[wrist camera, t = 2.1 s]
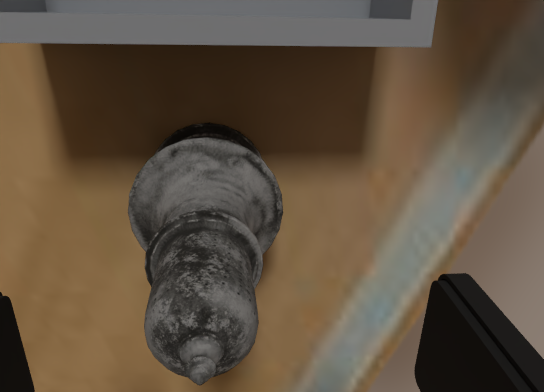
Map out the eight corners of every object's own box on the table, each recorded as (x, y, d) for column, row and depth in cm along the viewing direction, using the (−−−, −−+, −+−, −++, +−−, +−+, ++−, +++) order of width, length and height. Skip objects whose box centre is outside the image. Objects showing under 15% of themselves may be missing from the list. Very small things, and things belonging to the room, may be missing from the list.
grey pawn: (276, 117, 19) (354, 258, 8) (269, 236, 22) (323, 469, 11) (138, 114, 19) (26, 263, 8) (146, 237, 21) (68, 489, 10)
